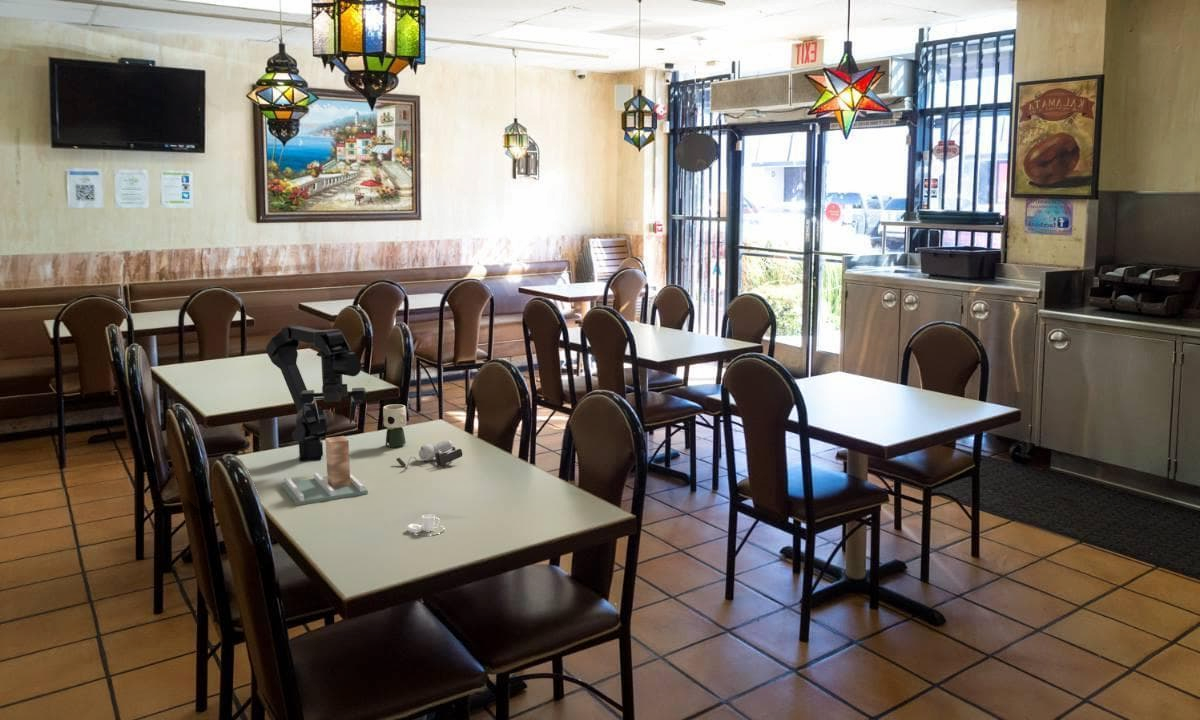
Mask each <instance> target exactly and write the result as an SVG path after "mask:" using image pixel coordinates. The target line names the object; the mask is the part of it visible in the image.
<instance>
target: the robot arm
mask: <svg viewBox="0 0 1200 720" xmlns="http://www.w3.org/2000/svg"><path fill="white" fill-rule="evenodd" d="M301 342H304V343H307V344H312V345H314V347H315V348H316V349H318V350H319V351H318V352H317V353H316V356H317V357H320V360H321V361H320V362H321V379H322V387H321V391H322V392H315V389H310V390H309V389H307V386H306V384H305V380H304V379H303V377H302V374H301V371H300V369H299V367H298V364H297V362H298V361H297V360H298V357H299V352H298V348H299V346H300V345H301ZM265 351H266V354H267V355H268V357H269V359H270V362H271V363H272V364H273V365H275V366H276V367H277V368H279V369H280V371H281V374H282V376H283V378H284V381H285V383H286V386H287V389H288V390H289V393H290V396H291V398H292V401H293V403H294V406H295V408H296V411H297V413H296V417H295V422H296V423H295V424H296V427H295V429H294V430H293V431H292V433H291V436H292V440H293V441H295V442H298V453H299V457H298V461H299V462H308V461H309V462H310V461H320V460H322V457H323V456H324V449H323V448H324V446H323V445H324V442H323V441H321V438H326V435H327V431H328V418H327V416H326V415H325V412H324V410H323V407H321V406H320V407H318V405H317V400H323V402H324V403H330V402H336V403H338V402H342V399H345V398H346V399H348V398H349V399H350V398H351V400H350V412H349V423H350V424H352V423H353V419H354V415H355V411H356V409H357V406H358V405H359V404H361V403H362V401H366V400H367V396H366V395H367V394H366V393H367V392H366V390H367V389H366V388H365V387H352V388H351V390H349V391H348V384H347V383H343V382H344V381H343V376H349V377H356V376H358V375H359V374H360V373H361V370H362V366H363V365H362V362H361V360H360V359H359V358H358V357H356V352H353V351H352V349H351V345H350V344H349V343H348V341H347V339H346V336H345V335H344V333H343V331H342V330H341V329H339V328H335V329H332V328H331V329H323V330H321V329H315V328H310V327H306V326H305V327H304V326H302V325H298V324H294V325H293V324H292V325H291V324H290V325H287V326H286V325H285V326H284V327H282V329H281V331H280V332H278V333H277V334H276V335H275V336H273V337H272V338H271V339H270V341H269V342H268V343H267V345H266V347H265Z"/></svg>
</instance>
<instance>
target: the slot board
mask: <svg viewBox="0 0 1200 720" xmlns="http://www.w3.org/2000/svg"><path fill="white" fill-rule="evenodd" d="M313 475H314V476H313V478H306V479H301V480H294V481H293V480H292V479H291V477H289V476H287V477H284V480H285V481H284V482H282V483H281V487H282V489H283V490H284V491H285V492H286V494H287V495H288V497H289V498H290V499H291V500H292V501H293V502H294V504H295V505H296V506H301V505H307V504H312V503H313V504H314V503H319V502H320V503H321V502H327V501H331V500H337V499H338V500H339V499H344V498H350V497H357V496H363V495H368V494H369V491H368V489H367V488H366V487H365V485H364V484H363V483H362V482H360V480H359V479H358V478H356V477H355V476H354V475H353V474H352V473H351V472H350V484H351V485H350V486H344V487H337V488H332V487H331V486H330V485H329V484H328V478H327V476H322V475H320V474H319V472H314V473H313Z"/></svg>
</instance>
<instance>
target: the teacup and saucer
mask: <svg viewBox="0 0 1200 720" xmlns="http://www.w3.org/2000/svg"><path fill="white" fill-rule="evenodd" d="M436 519H437V520H438V523H437V524H435V523H436ZM440 520H441V519H440V518H439V517H437V516H436V515H435V514H434V513H427V514H423V515H422V516H421V525H420V524H417V523H411V524H408V525H407V526H406V529H407V531H408V532H409V533H412V532H413V533H414V534H413V533H412V534H413V535H415V536H417V535H418V534H419V533H421V532H422V531H424V532H425V531H426V532H425V533H430V531H432V532H434V530H435V529H436V528H438V527H437V526H438V525H440ZM434 525H437V526H436V527H434ZM421 526H423V528H422V527H421ZM440 526H441V527H444V526H443V525H440ZM443 529H445V530H446V527H444V528H443ZM415 533H418V534H415ZM437 533H438V532H437ZM438 534H439V535H441V534H440V533H438ZM429 535H430V536H429V537H432V536H431V535H432V534H429Z"/></svg>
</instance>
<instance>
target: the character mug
mask: <svg viewBox="0 0 1200 720" xmlns="http://www.w3.org/2000/svg"><path fill="white" fill-rule="evenodd" d="M406 414H407V410H406V405H404V404H399V403H398V404H397V403H396V404H387V405H384V406H383V407H382V416H383V426H384V427H385V428H387V430H386V433H385V434H386V435H385V446H386V447H387V446H388V447H393V448H394V447H395V448H396V447H398V448H399V447H400V446H403V445H405V444H406V443H407V442H406V436H405V430H404V428H403V427H405V426H406V425H407V415H406Z"/></svg>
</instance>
